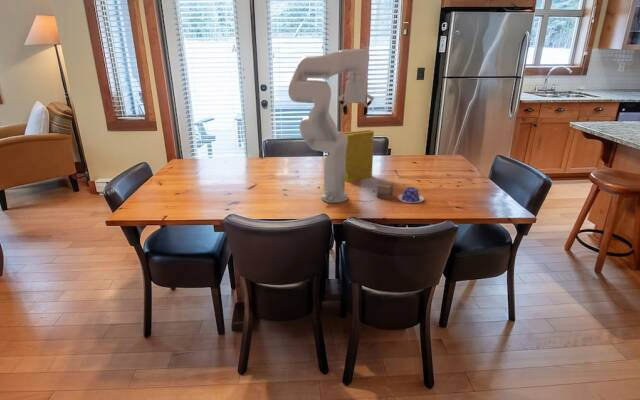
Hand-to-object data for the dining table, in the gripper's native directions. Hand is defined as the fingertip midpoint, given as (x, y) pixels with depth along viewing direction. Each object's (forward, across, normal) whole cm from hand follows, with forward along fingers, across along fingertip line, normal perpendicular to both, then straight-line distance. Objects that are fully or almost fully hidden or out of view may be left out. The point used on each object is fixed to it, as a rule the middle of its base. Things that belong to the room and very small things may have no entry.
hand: (355, 114), depth 181 cm
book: (+36, 0, +10) cm, 37 cm away
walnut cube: (+36, +18, -14) cm, 42 cm away
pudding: (+36, +30, -14) cm, 49 cm away
